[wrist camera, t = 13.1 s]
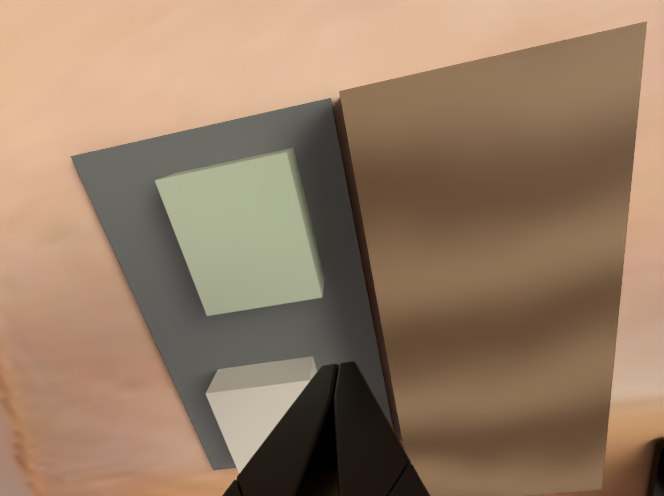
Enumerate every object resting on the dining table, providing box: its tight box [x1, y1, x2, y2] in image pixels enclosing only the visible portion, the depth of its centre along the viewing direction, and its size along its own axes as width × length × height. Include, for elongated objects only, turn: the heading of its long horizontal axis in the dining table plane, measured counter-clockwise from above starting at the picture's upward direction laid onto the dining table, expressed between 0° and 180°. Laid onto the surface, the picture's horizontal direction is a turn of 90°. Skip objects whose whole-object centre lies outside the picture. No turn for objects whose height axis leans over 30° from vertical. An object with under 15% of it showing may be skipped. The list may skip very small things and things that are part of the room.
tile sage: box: [155, 148, 325, 316], centre depth 17 cm, size 7×6×2 cm
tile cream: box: [206, 356, 317, 473], centre depth 21 cm, size 7×6×2 cm
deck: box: [339, 22, 647, 496], centre depth 17 cm, size 22×10×4 cm, turn 12°
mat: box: [71, 98, 394, 470], centre depth 20 cm, size 22×13×1 cm, turn 12°
